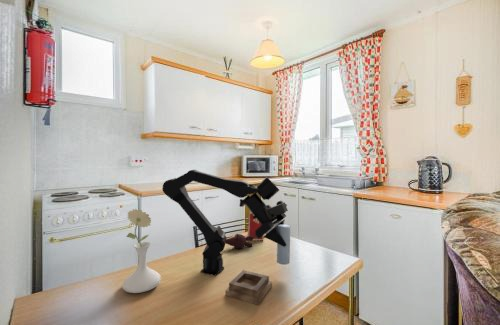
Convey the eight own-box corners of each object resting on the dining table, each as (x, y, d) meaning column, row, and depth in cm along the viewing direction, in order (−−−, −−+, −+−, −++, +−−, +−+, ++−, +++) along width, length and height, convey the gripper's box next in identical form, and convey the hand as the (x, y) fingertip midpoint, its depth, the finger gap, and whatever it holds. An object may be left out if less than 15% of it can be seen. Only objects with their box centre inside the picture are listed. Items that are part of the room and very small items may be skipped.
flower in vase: (168, 283, 79) (168, 208, 78) (137, 301, 69) (136, 216, 68) (143, 273, 85) (143, 204, 85) (111, 288, 76) (111, 210, 75)
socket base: (225, 295, 72) (225, 283, 72) (241, 278, 82) (241, 268, 82) (258, 304, 68) (258, 292, 68) (271, 286, 78) (271, 275, 77)
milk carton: (264, 235, 128) (265, 198, 128) (264, 241, 119) (264, 201, 119) (248, 234, 129) (248, 197, 129) (246, 240, 120) (246, 201, 120)
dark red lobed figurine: (223, 239, 103) (256, 239, 107) (221, 230, 110) (252, 230, 114) (221, 253, 105) (254, 252, 109) (219, 243, 112) (250, 243, 116)
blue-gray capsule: (275, 263, 82) (276, 227, 82) (279, 258, 86) (279, 223, 86) (287, 265, 80) (288, 228, 80) (290, 260, 84) (291, 225, 84)
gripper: (264, 198, 76) (298, 238, 71) (281, 191, 93) (309, 223, 88) (241, 219, 79) (272, 259, 75) (262, 209, 96) (288, 240, 92)
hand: (287, 243), depth 82 cm, fingers closed on blue-gray capsule, 4 cm apart
